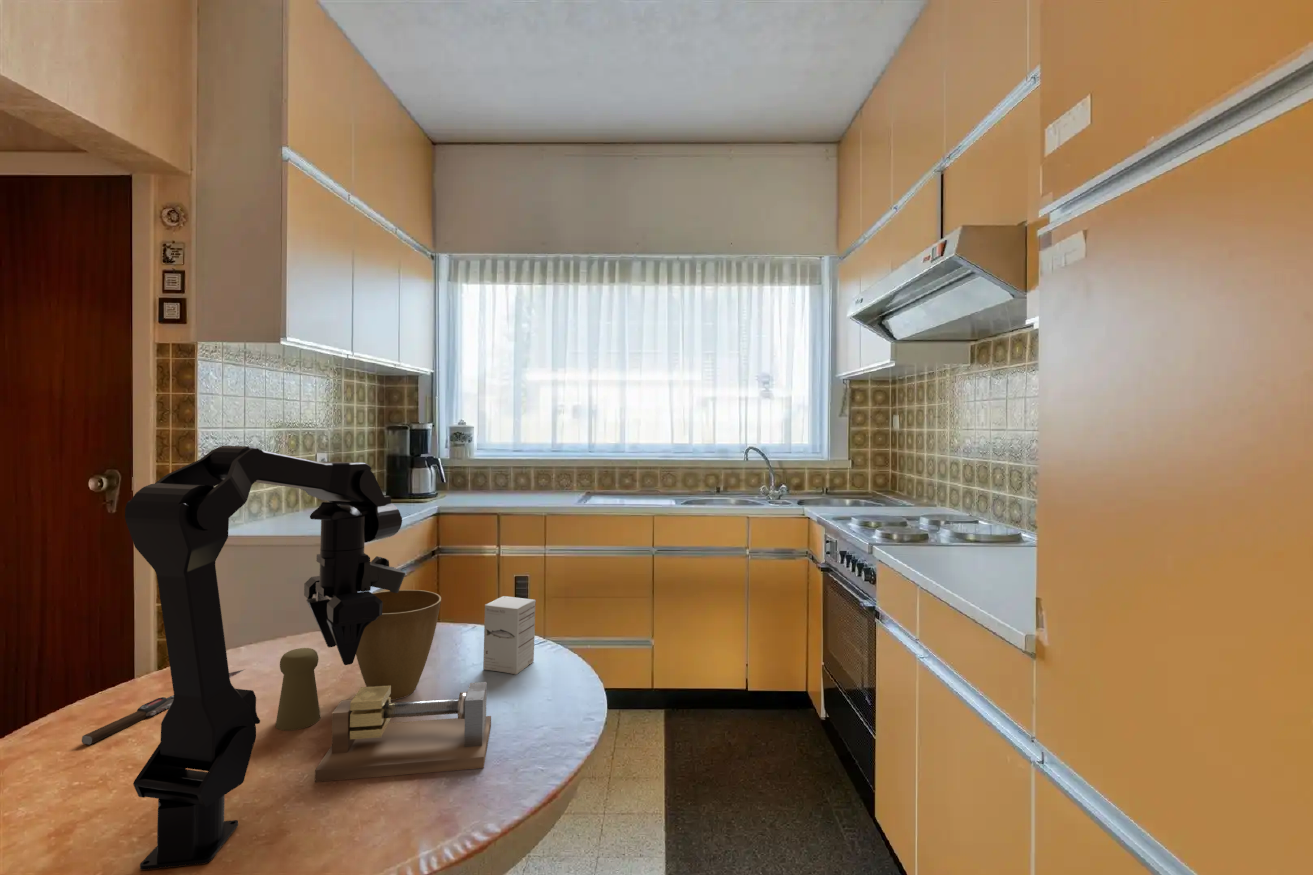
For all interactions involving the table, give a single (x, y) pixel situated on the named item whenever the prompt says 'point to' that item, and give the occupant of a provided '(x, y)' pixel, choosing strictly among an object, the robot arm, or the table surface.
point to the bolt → (450, 711)
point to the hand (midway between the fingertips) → (339, 655)
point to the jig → (399, 749)
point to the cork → (298, 690)
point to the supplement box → (509, 634)
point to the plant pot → (399, 640)
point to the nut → (369, 712)
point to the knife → (132, 718)
